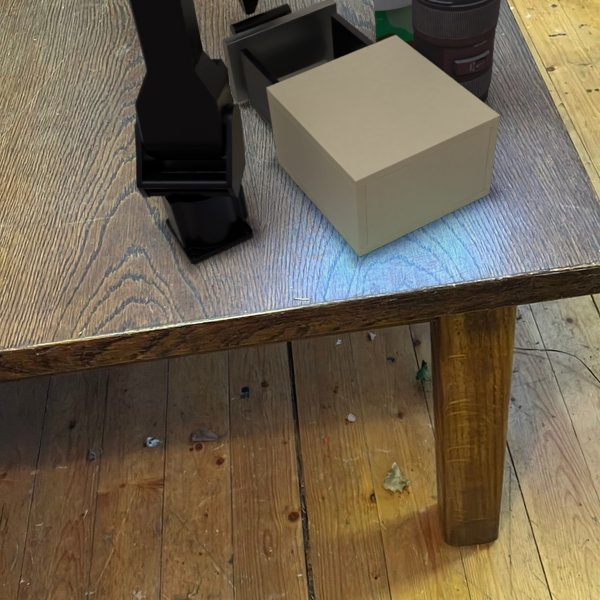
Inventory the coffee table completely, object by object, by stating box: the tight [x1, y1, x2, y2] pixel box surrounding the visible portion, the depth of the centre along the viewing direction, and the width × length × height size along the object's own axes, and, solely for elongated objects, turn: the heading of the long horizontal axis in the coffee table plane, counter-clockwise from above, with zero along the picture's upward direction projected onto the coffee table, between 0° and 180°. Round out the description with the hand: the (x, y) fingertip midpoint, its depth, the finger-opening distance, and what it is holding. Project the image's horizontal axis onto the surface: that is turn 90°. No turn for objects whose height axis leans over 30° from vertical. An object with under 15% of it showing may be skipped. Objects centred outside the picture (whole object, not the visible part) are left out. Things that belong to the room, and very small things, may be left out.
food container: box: [373, 0, 413, 48], centre depth 81 cm, size 12×6×10 cm, turn 168°
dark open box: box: [221, 0, 376, 131], centre depth 76 cm, size 20×13×7 cm, turn 29°
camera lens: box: [412, 0, 502, 104], centre depth 71 cm, size 8×8×15 cm
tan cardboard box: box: [266, 35, 501, 258], centre depth 67 cm, size 16×14×9 cm
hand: (249, 12), depth 83 cm, fingers closed
